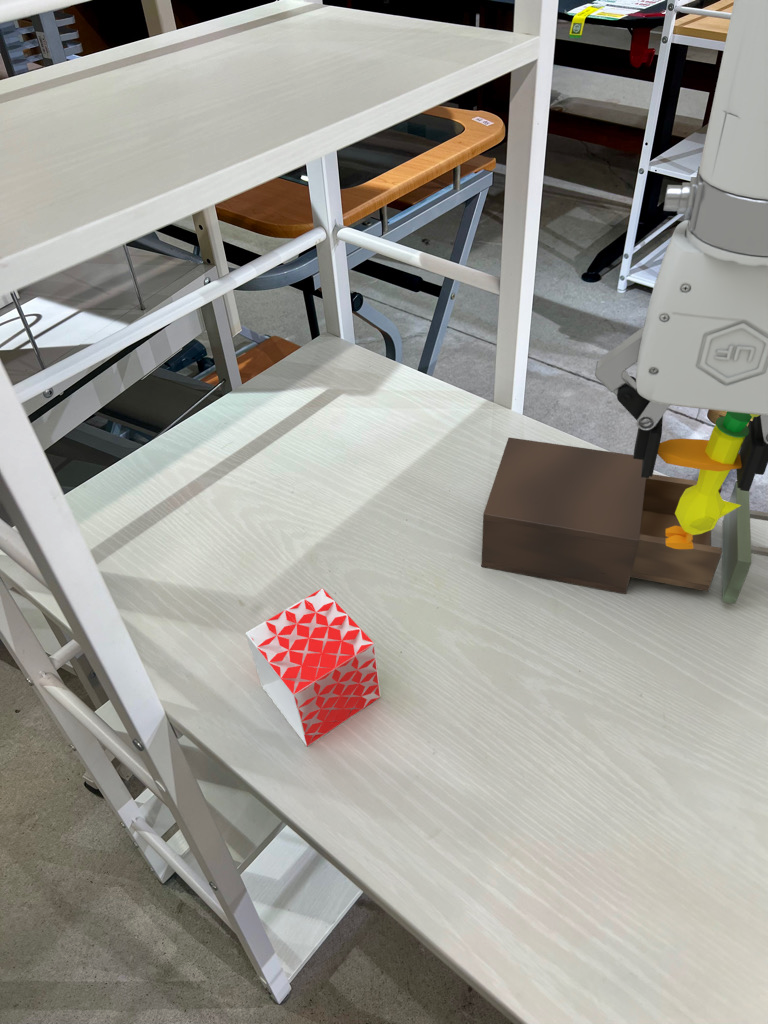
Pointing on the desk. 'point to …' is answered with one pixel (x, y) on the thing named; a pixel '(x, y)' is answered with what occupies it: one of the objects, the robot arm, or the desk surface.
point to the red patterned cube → (315, 665)
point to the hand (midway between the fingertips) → (694, 469)
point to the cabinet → (564, 514)
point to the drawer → (694, 541)
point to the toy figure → (705, 476)
